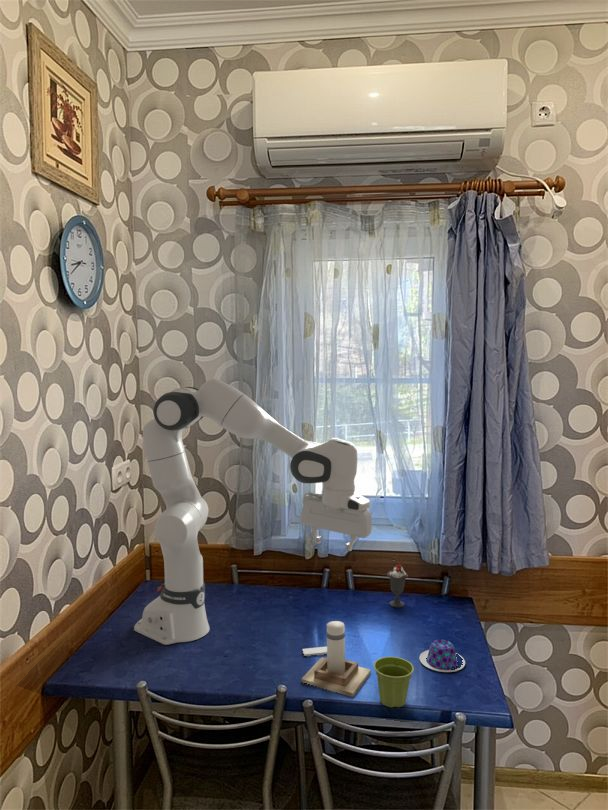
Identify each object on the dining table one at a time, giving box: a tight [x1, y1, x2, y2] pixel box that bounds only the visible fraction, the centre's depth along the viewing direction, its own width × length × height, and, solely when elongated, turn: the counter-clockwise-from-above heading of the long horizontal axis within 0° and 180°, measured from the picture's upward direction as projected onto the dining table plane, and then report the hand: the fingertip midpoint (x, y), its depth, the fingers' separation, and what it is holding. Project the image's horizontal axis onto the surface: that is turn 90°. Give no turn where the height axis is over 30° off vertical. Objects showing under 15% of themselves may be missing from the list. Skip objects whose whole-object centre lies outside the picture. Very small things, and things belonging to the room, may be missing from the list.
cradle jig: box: [300, 656, 372, 698], centre depth 158 cm, size 14×12×3 cm
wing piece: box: [301, 646, 327, 657], centre depth 171 cm, size 10×3×1 cm, turn 101°
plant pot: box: [373, 656, 415, 708], centre depth 147 cm, size 9×9×9 cm
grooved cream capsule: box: [326, 620, 346, 676], centre depth 157 cm, size 5×5×13 cm
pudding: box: [418, 639, 466, 673], centre depth 166 cm, size 12×12×5 cm
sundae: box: [386, 561, 409, 608], centre depth 200 cm, size 7×7×15 cm
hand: (332, 546), depth 172 cm, fingers open, 8 cm apart
